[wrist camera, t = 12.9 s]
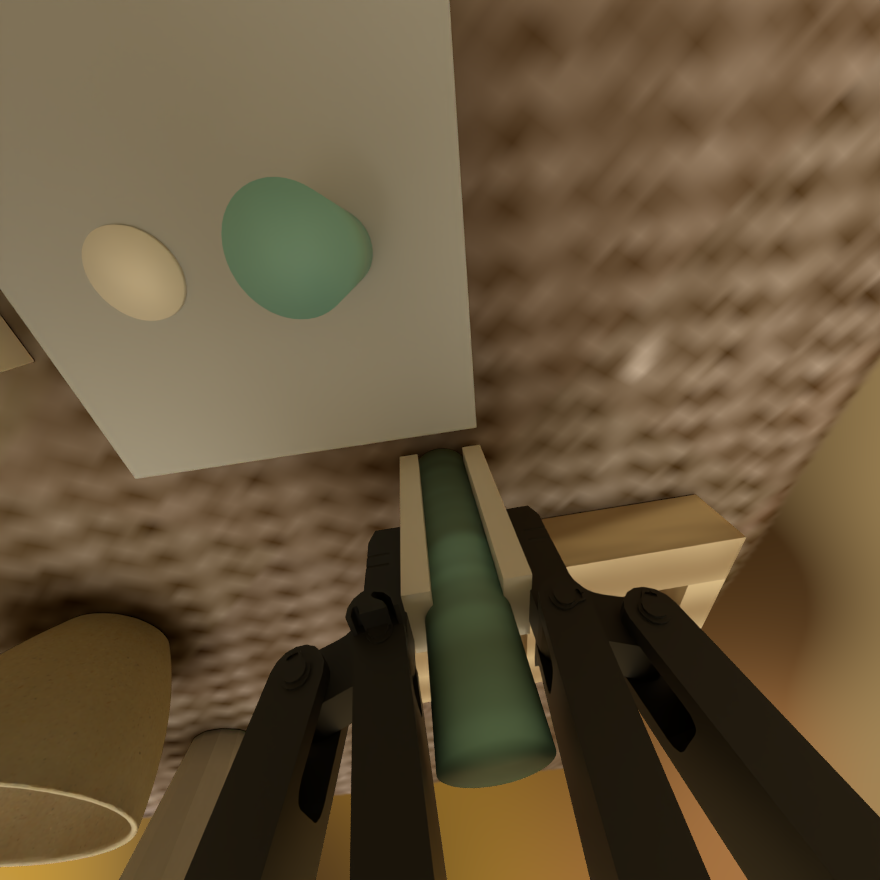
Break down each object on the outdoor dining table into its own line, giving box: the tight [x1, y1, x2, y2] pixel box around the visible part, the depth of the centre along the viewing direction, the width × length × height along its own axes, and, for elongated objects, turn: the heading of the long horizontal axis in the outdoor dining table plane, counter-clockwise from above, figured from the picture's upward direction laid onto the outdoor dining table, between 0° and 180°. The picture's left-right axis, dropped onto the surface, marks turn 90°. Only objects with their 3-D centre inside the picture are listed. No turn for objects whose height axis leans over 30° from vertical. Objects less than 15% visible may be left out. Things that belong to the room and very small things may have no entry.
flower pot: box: [0, 613, 172, 867], centre depth 16 cm, size 10×10×7 cm
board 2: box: [415, 494, 746, 703], centre depth 19 cm, size 10×16×3 cm, turn 96°
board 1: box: [0, 0, 477, 479], centre depth 8 cm, size 13×13×6 cm
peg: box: [419, 449, 556, 788], centre depth 11 cm, size 2×2×10 cm
